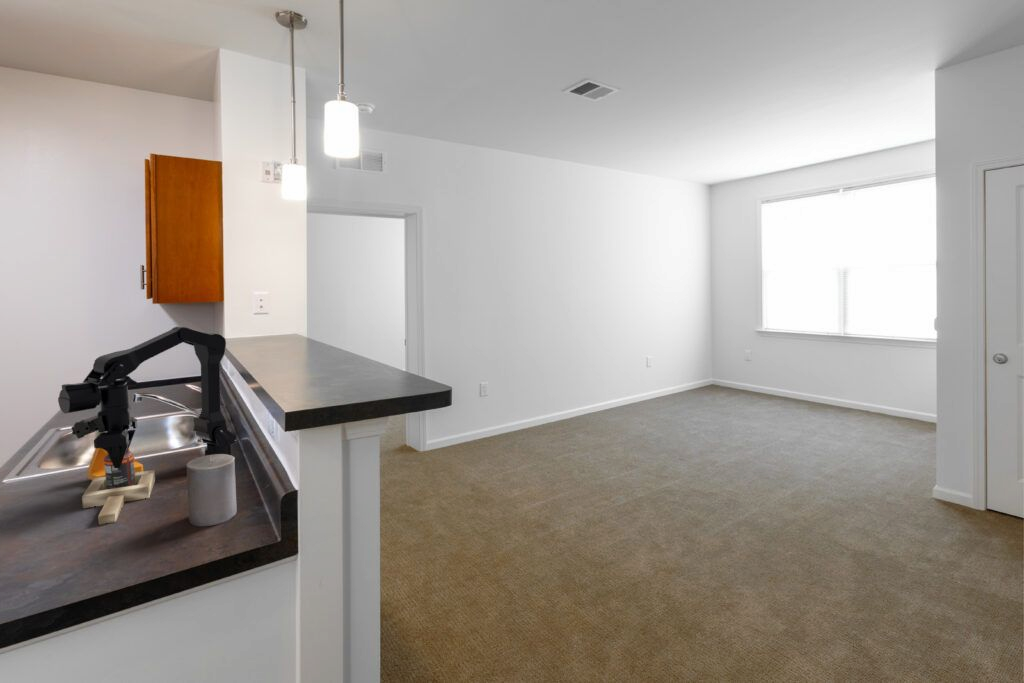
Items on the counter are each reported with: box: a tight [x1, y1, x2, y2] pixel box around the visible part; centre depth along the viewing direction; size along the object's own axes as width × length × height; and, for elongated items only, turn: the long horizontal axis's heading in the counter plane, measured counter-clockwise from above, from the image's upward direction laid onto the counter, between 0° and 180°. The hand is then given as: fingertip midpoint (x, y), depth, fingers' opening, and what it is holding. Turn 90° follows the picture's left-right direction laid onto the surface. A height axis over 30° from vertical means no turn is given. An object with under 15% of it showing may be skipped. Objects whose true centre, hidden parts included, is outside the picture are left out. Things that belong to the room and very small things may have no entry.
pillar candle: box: [186, 454, 238, 527], centre depth 117 cm, size 10×10×15 cm
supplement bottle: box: [104, 447, 136, 489], centre depth 129 cm, size 6×6×11 cm
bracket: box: [86, 448, 144, 482], centre depth 140 cm, size 11×7×12 cm, turn 147°
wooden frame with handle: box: [81, 469, 156, 526], centre depth 125 cm, size 13×25×3 cm, turn 30°
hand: (119, 463), depth 129 cm, fingers closed on supplement bottle, 6 cm apart
